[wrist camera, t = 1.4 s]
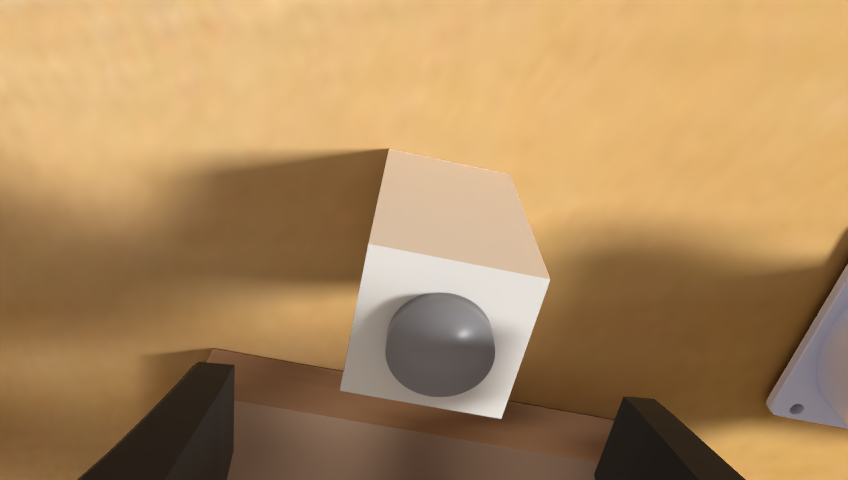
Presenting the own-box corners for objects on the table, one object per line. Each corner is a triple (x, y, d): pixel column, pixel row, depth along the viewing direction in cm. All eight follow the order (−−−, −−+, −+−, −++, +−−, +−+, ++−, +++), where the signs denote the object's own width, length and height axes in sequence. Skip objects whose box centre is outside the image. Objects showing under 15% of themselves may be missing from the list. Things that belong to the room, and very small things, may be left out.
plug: (510, 173, 19) (555, 293, 12) (479, 279, 21) (504, 437, 14) (389, 148, 19) (365, 256, 12) (367, 257, 20) (336, 407, 13)
